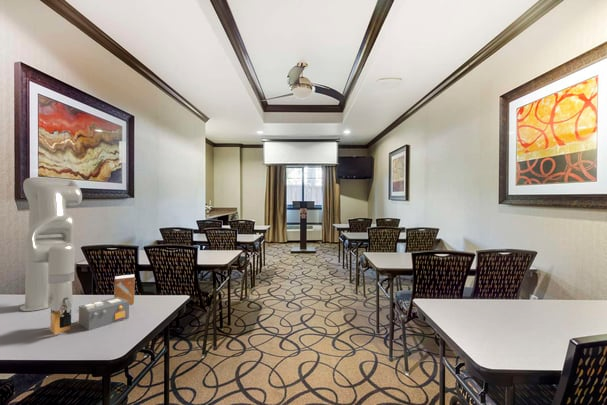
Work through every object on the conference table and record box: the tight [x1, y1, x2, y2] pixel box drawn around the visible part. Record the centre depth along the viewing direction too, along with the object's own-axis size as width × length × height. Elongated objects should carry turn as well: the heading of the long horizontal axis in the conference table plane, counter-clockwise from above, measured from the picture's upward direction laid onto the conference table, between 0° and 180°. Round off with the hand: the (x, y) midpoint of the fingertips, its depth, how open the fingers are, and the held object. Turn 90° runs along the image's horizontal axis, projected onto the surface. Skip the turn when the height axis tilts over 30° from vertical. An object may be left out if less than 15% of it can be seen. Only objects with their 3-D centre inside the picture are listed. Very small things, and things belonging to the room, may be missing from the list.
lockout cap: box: [50, 310, 71, 335], centre depth 105 cm, size 4×4×7 cm
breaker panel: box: [78, 297, 130, 331], centre depth 113 cm, size 11×14×8 cm
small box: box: [113, 274, 136, 305], centre depth 133 cm, size 8×6×13 cm
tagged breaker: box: [107, 299, 122, 304], centre depth 116 cm, size 4×4×6 cm
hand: (60, 323), depth 105 cm, fingers open, 9 cm apart
